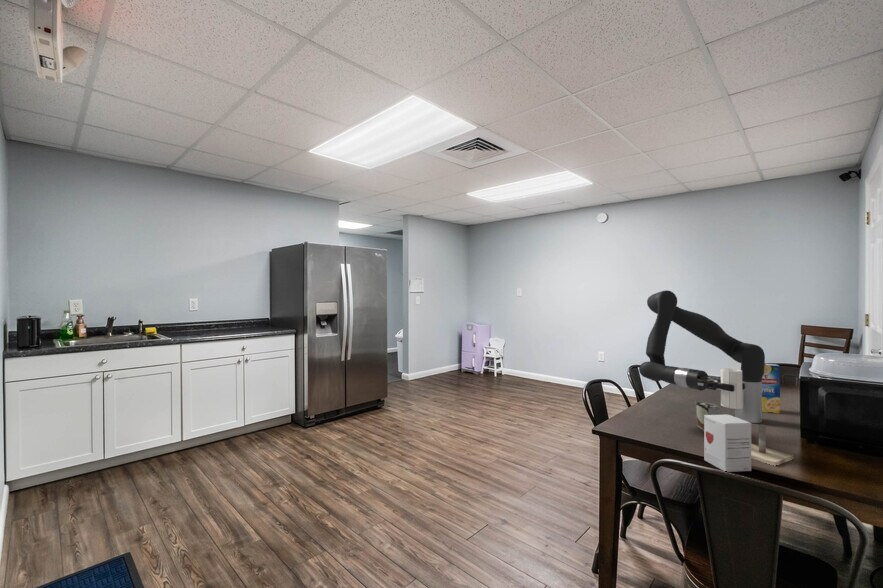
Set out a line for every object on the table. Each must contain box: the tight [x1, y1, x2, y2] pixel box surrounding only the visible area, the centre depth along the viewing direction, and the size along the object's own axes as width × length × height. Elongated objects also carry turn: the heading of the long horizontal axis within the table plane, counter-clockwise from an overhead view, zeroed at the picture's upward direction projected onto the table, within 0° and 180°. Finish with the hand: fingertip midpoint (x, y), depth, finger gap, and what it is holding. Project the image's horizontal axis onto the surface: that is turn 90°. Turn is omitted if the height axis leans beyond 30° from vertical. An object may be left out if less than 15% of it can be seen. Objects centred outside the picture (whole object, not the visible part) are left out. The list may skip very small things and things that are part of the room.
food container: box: [694, 400, 721, 431], centre depth 157 cm, size 12×6×10 cm, turn 168°
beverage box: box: [762, 362, 781, 414], centre depth 184 cm, size 7×11×22 cm, turn 71°
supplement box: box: [703, 414, 752, 473], centre depth 124 cm, size 9×9×15 cm
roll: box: [720, 367, 743, 410], centre depth 138 cm, size 6×6×13 cm
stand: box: [751, 424, 794, 467], centre depth 131 cm, size 12×12×10 cm
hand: (739, 387), depth 136 cm, fingers closed on roll, 6 cm apart
